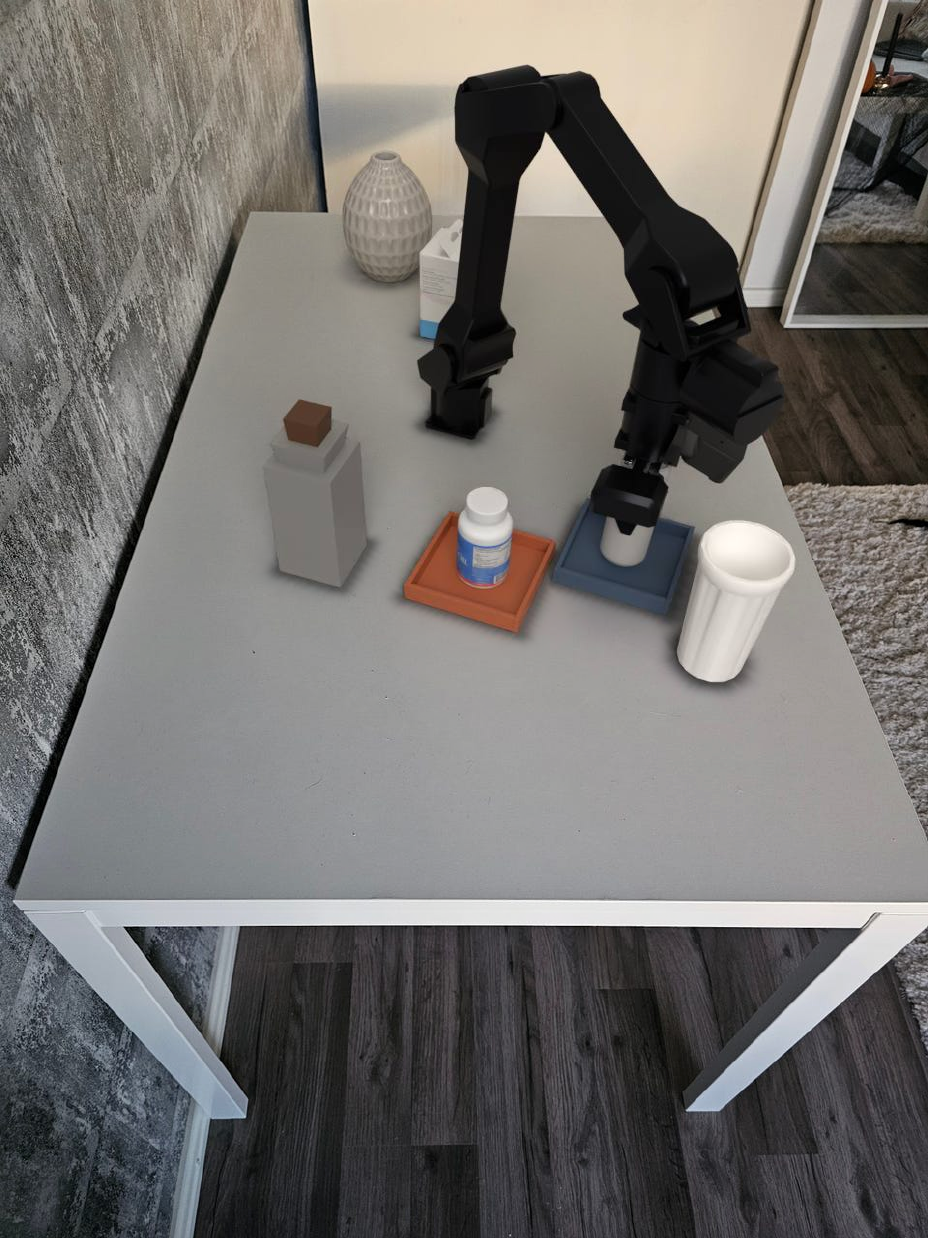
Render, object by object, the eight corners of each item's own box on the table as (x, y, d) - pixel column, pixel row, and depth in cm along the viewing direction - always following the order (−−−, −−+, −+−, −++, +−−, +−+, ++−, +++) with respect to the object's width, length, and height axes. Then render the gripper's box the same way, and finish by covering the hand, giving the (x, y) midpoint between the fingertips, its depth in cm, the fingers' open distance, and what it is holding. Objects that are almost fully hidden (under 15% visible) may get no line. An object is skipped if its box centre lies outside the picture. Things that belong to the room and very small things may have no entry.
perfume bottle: (366, 544, 96) (357, 400, 83) (340, 587, 92) (325, 442, 78) (308, 529, 97) (290, 384, 84) (279, 570, 93) (255, 425, 80)
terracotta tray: (404, 597, 91) (404, 584, 90) (449, 523, 99) (449, 510, 97) (517, 633, 88) (518, 620, 87) (554, 554, 96) (556, 540, 94)
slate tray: (552, 581, 93) (554, 568, 92) (584, 510, 101) (587, 497, 99) (666, 615, 90) (670, 602, 89) (691, 539, 98) (695, 526, 97)
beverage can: (643, 573, 93) (672, 475, 84) (596, 564, 93) (621, 465, 85) (645, 544, 96) (673, 448, 88) (600, 536, 96) (624, 439, 88)
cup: (733, 706, 83) (778, 599, 72) (652, 668, 86) (684, 560, 75) (763, 649, 88) (809, 541, 77) (685, 615, 91) (720, 506, 80)
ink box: (477, 348, 122) (481, 252, 112) (418, 336, 124) (417, 240, 114) (496, 317, 128) (502, 223, 118) (440, 306, 129) (441, 212, 119)
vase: (344, 253, 139) (337, 137, 127) (428, 251, 140) (428, 136, 128) (346, 295, 130) (338, 175, 118) (435, 293, 132) (437, 174, 119)
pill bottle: (454, 554, 95) (456, 481, 88) (505, 552, 95) (511, 479, 88) (458, 592, 91) (461, 519, 84) (511, 590, 92) (518, 517, 84)
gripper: (735, 469, 72) (692, 603, 84) (771, 351, 84) (728, 483, 95) (600, 434, 74) (576, 569, 86) (653, 325, 86) (625, 456, 98)
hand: (632, 517), depth 91 cm, fingers closed on beverage can, 5 cm apart
